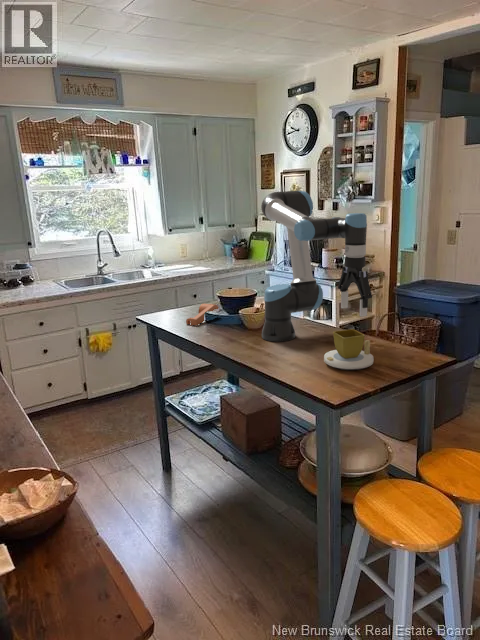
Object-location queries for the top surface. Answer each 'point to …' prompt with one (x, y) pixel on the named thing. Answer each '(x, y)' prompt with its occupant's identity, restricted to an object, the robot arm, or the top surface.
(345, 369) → the turntable base
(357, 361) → the disc
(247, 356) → the top surface
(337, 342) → the flower pot
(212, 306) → the crank
